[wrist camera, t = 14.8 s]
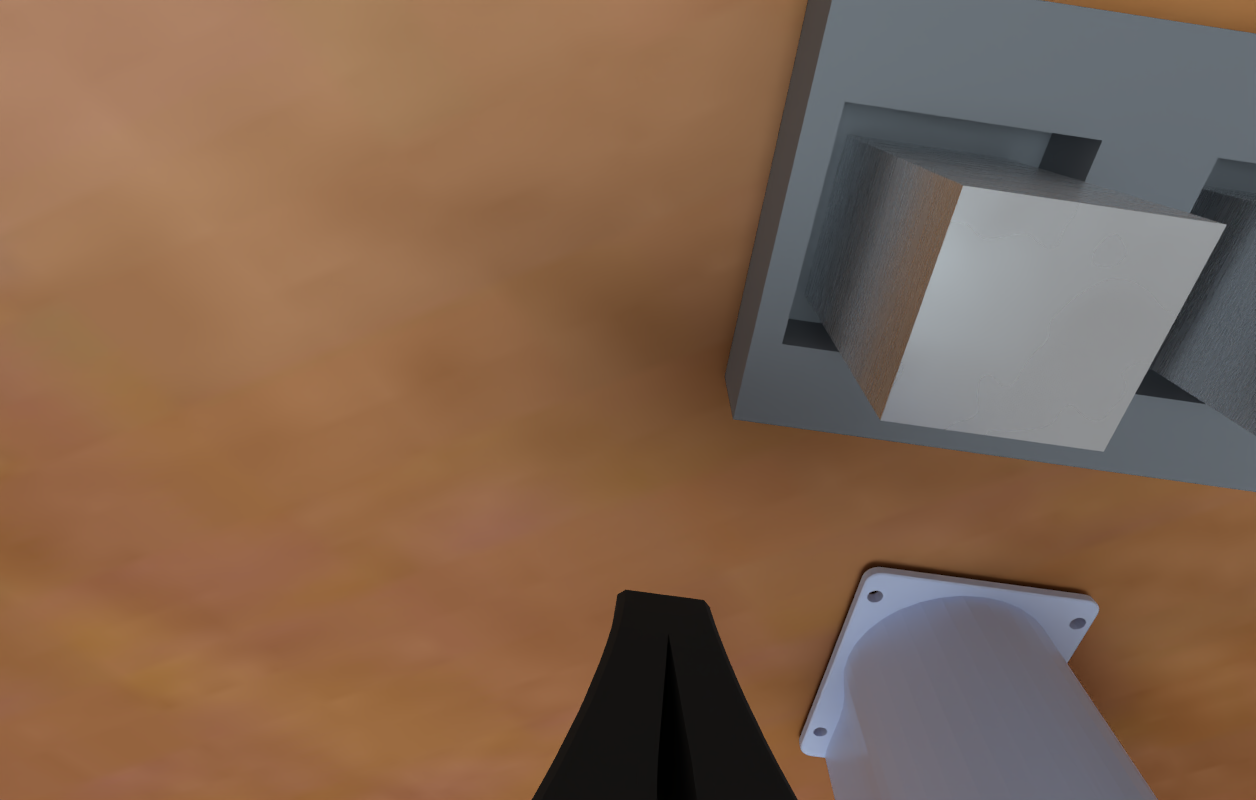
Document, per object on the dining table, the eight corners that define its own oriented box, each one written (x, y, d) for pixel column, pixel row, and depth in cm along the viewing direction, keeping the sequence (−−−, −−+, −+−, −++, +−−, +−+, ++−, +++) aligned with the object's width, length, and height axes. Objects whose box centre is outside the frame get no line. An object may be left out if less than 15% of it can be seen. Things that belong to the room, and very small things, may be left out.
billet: (950, 314, 18) (1103, 451, 12) (804, 293, 18) (880, 420, 12) (1009, 159, 16) (1226, 224, 10) (846, 134, 16) (963, 185, 10)
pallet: (1218, 445, 20) (1289, 496, 18) (724, 376, 20) (733, 419, 18) (1449, 80, 16) (1586, 84, 13) (812, -18, 15) (839, -32, 13)
